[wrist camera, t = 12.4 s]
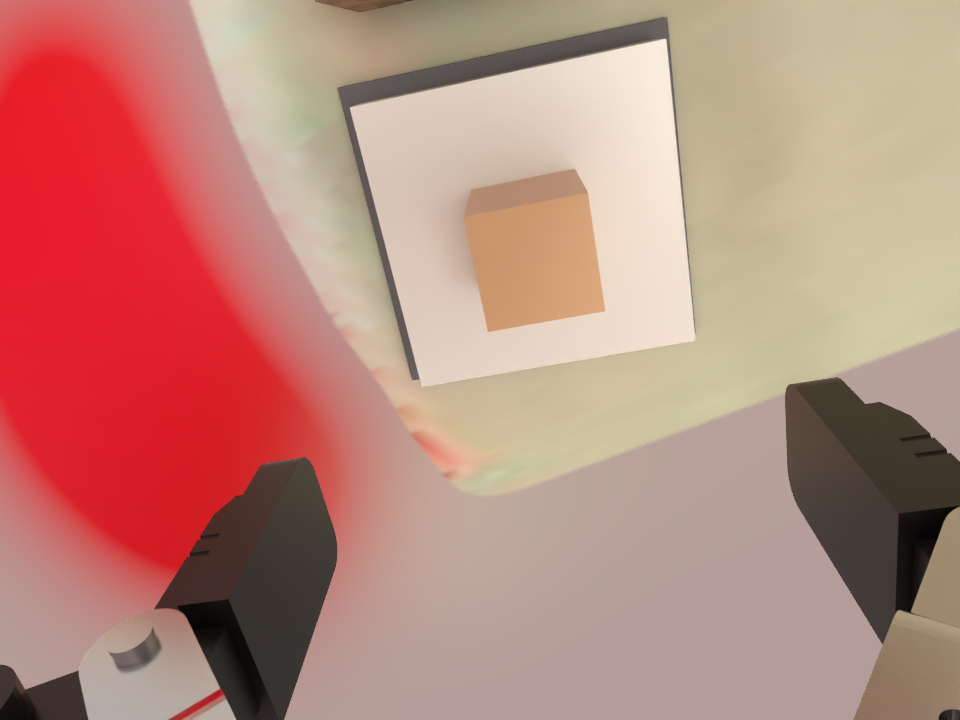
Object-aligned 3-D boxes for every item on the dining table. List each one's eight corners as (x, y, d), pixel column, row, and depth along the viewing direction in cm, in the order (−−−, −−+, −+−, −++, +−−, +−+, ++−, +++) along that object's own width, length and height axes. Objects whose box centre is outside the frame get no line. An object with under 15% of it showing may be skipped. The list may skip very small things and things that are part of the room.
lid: (362, 102, 29) (316, 119, 22) (653, 39, 28) (700, 36, 21) (427, 364, 34) (406, 445, 27) (682, 319, 32) (729, 393, 25)
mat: (340, 87, 29) (337, 87, 29) (664, 18, 28) (667, 17, 28) (413, 376, 34) (412, 380, 34) (693, 330, 33) (695, 333, 33)
